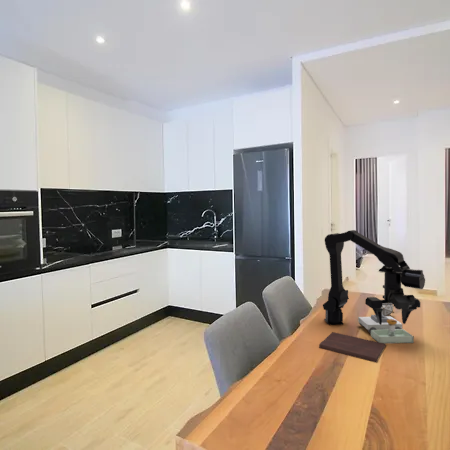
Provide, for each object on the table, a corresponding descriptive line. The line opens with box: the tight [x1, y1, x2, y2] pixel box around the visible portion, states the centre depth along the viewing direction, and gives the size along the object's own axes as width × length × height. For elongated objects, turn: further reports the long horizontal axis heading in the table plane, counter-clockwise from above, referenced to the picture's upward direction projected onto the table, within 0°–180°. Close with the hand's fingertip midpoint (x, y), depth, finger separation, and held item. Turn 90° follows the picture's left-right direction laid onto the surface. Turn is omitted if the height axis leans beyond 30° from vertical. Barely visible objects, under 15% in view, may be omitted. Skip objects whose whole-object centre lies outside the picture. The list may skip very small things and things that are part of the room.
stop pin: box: [387, 319, 398, 336], centre depth 126 cm, size 3×3×7 cm
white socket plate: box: [357, 314, 403, 335], centre depth 135 cm, size 14×10×6 cm
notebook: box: [318, 331, 387, 363], centre depth 120 cm, size 15×20×2 cm
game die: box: [381, 305, 395, 317], centre depth 151 cm, size 9×8×10 cm
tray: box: [370, 328, 415, 344], centre depth 126 cm, size 13×7×2 cm, turn 91°
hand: (392, 324), depth 126 cm, fingers open, 9 cm apart
